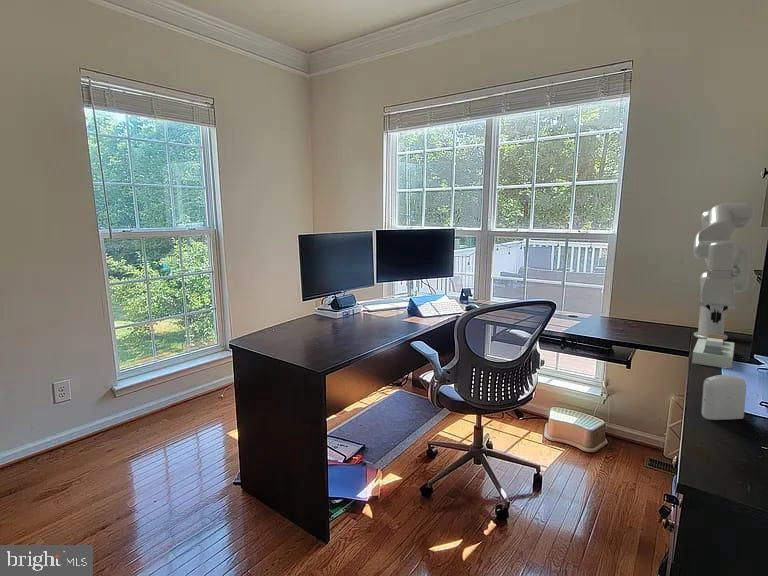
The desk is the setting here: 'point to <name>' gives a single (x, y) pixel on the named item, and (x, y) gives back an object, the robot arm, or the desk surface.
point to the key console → (713, 355)
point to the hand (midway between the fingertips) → (715, 322)
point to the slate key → (713, 348)
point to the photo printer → (723, 397)
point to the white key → (715, 341)
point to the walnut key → (716, 336)
